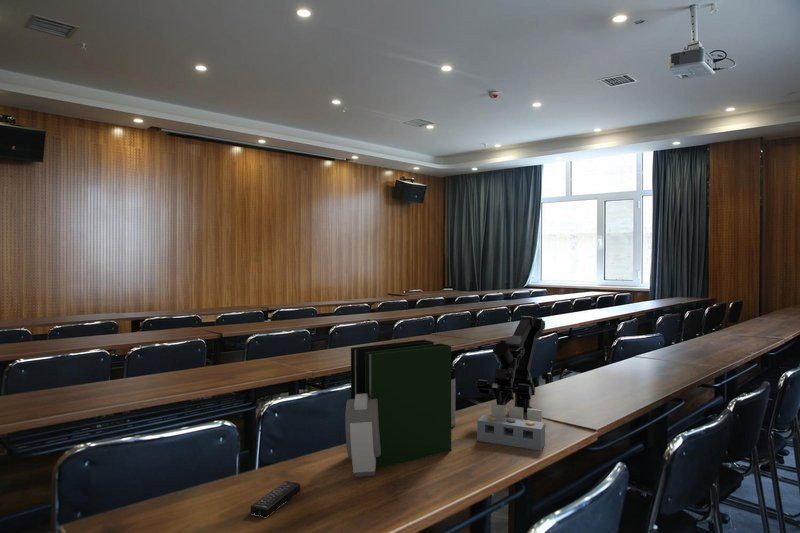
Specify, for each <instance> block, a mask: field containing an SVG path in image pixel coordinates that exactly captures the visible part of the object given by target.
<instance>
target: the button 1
mask: <svg viewBox="0 0 800 533" xmlns="http://www.w3.org/2000/svg"><path fill="white" fill-rule="evenodd" d="M490 406H491V407H490V408H491V411H490V412H491V414H490V415H492V416H500V417H506V405H505V406H504V405H497V403H496V404H495V403H491V405H490ZM490 427H491V428H494V426H491V425H490Z"/></svg>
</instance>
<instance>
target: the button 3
mask: <svg viewBox="0 0 800 533" xmlns="http://www.w3.org/2000/svg"><path fill="white" fill-rule="evenodd" d="M526 414H527V415H526V418H527V419H526V420H530V421H537V422H543V411H542V409H536V408H532V409H529V408H528V409H527V412H526ZM528 433H530V434H532V433H533V431H528Z"/></svg>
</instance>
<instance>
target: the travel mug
mask: <svg viewBox="0 0 800 533" xmlns="http://www.w3.org/2000/svg"><path fill="white" fill-rule="evenodd" d="M456 372H457V368H456V367H455V368H453V367H451V427H452V428H454V427H455V426H456Z"/></svg>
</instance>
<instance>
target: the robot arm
mask: <svg viewBox="0 0 800 533" xmlns="http://www.w3.org/2000/svg"><path fill="white" fill-rule="evenodd" d="M545 329H546V321H545V320H543V318H542V317H534V316H531V315H529V316H528V315H522V316H520V317H519V322H518V324H517V326H516V327H515V330H514V332H513V335H512V336H511V337H509V338H507V339H506V340H505V339H503V340H502V339H501V340H500V342H498V343H496V344H494V346H493V347H492V353H493V355H494V357H495V359H496V361H497V363H498V364H499V367H498V368H496V367H495V368H493V373H492V374H493V375H492V378H493V379H494V380H493V382H494V383H492V384H490V383H489V381H488V380H487V379H477V380H476V382H475V388H476V390H477V393H478V394H479V395H486V396H488V395H489V394H490V393H491V394H492V396H493V398H495V400H496V405H504V406H505V407H506V405H507V404H509V402H510V401H512V400H514V406H513V407H521V408H523V413H524V412H525V413H527V409H528V408H529V409H533V407H532V406H531V400H532V396H535V395H536V394H535V393H536V387H535V384H534V381H533V377H532V374H531V372H530V371H531V367H532V363H533V358H534V353H535V350H536V344H537V340H538V339H540V337H542V335H543V333H544V330H545ZM516 359H519V360H518V363H517V360H516ZM501 393H502V394H501Z"/></svg>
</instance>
